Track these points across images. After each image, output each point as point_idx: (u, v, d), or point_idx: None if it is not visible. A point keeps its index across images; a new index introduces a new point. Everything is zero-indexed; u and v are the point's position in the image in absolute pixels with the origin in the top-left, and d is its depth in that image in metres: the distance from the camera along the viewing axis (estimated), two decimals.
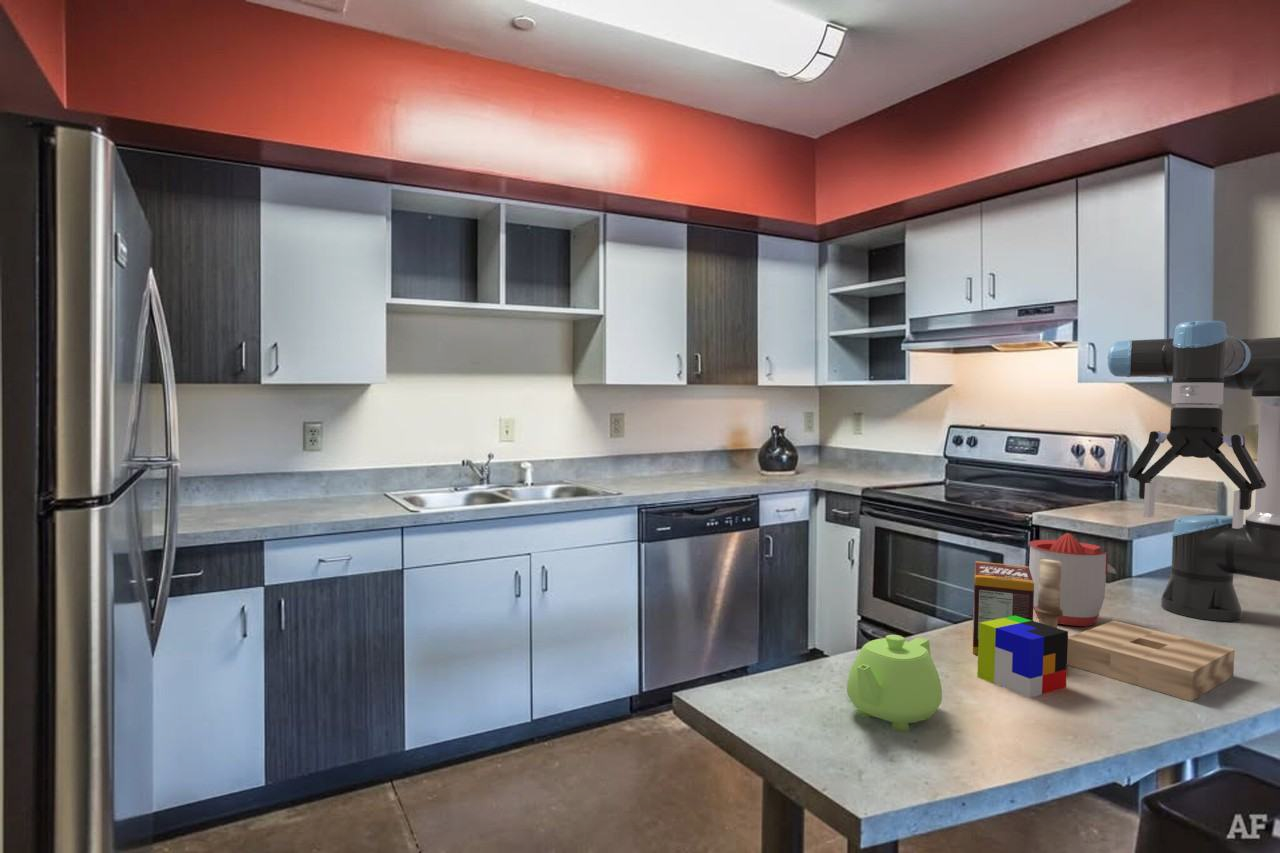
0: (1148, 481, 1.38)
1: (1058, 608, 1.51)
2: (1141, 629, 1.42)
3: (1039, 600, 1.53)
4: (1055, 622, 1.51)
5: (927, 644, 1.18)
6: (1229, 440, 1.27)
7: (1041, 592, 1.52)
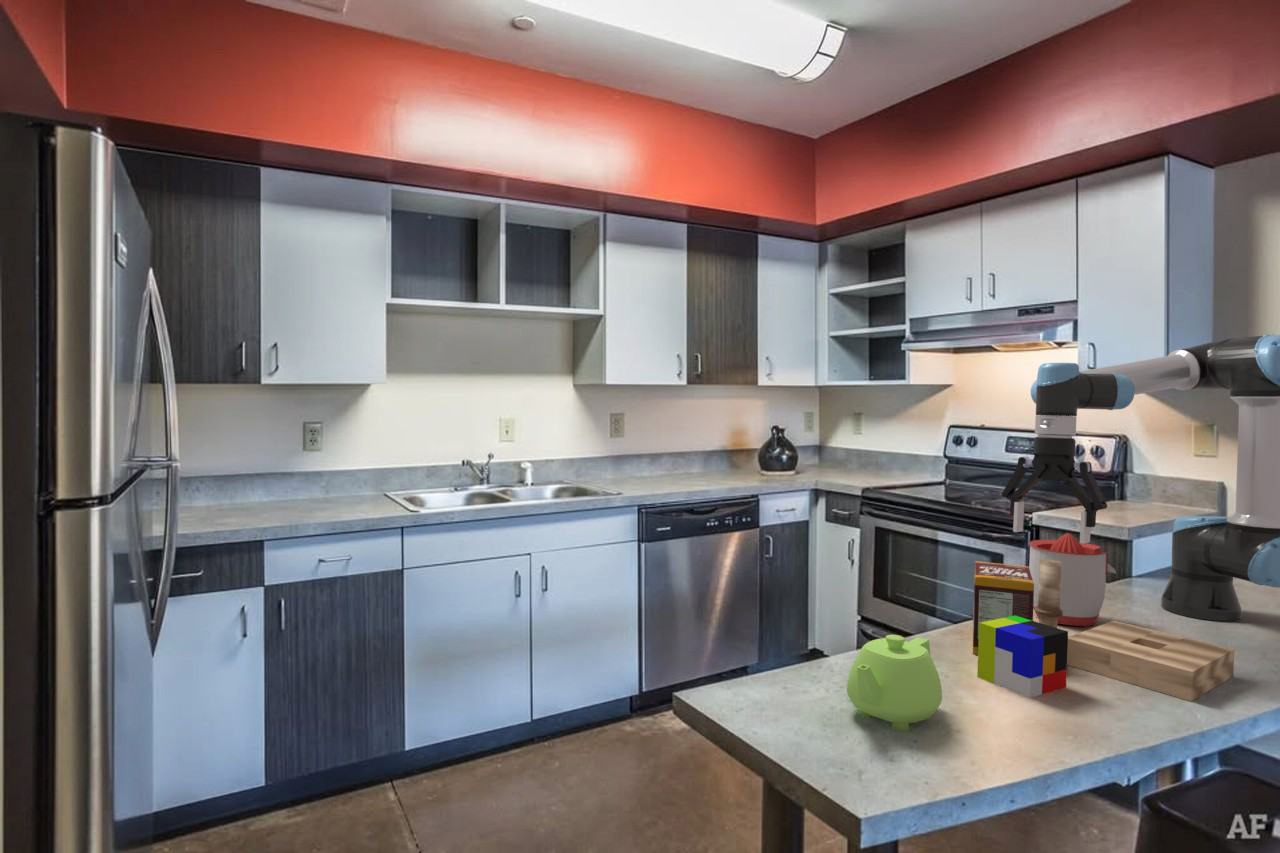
0: (1017, 500, 1.58)
1: (1058, 608, 1.51)
2: (1141, 629, 1.42)
3: (1039, 600, 1.53)
4: (1055, 622, 1.51)
5: (927, 644, 1.18)
6: (1078, 466, 1.47)
7: (1041, 592, 1.52)
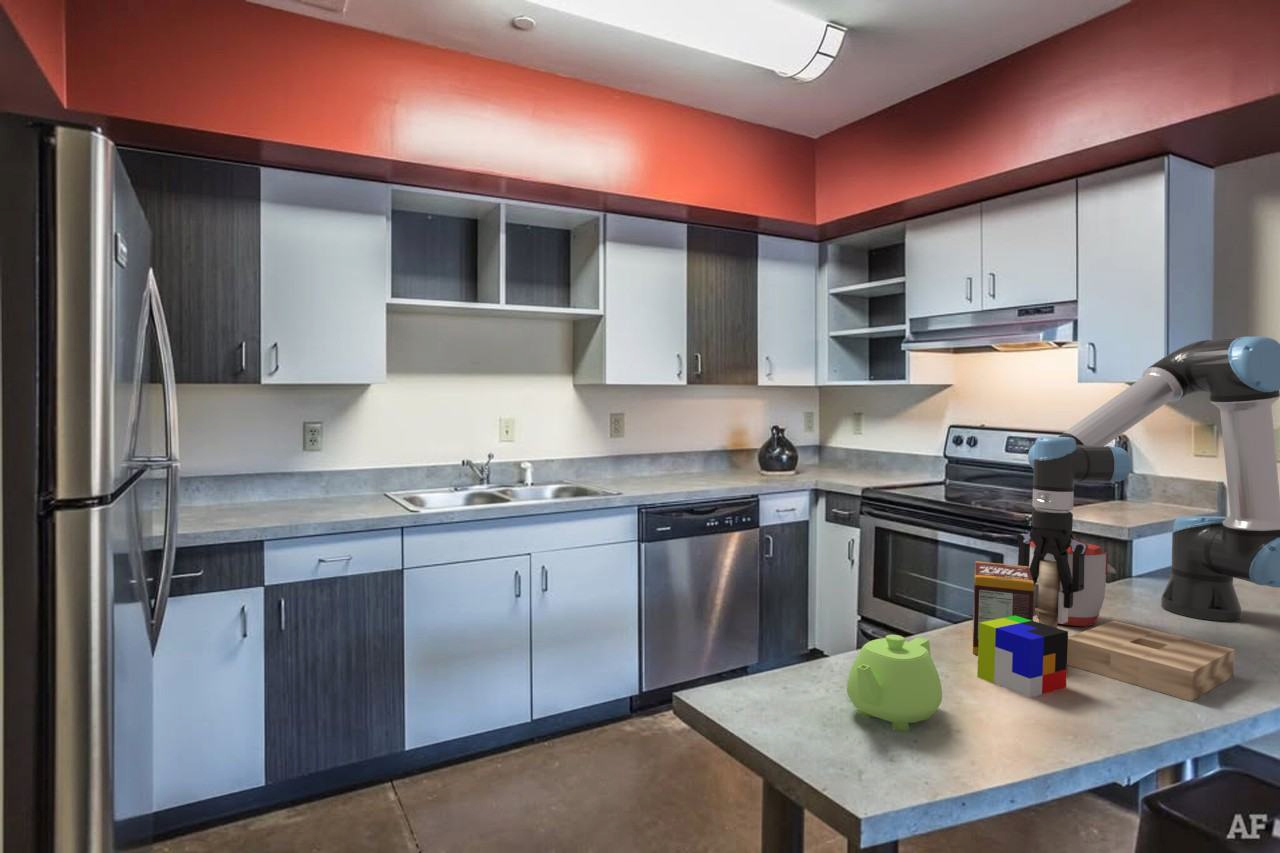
0: None
1: None
2: (1141, 629, 1.42)
3: (1039, 600, 1.53)
4: (1055, 622, 1.51)
5: (927, 644, 1.18)
6: (1074, 546, 1.48)
7: (1041, 592, 1.52)
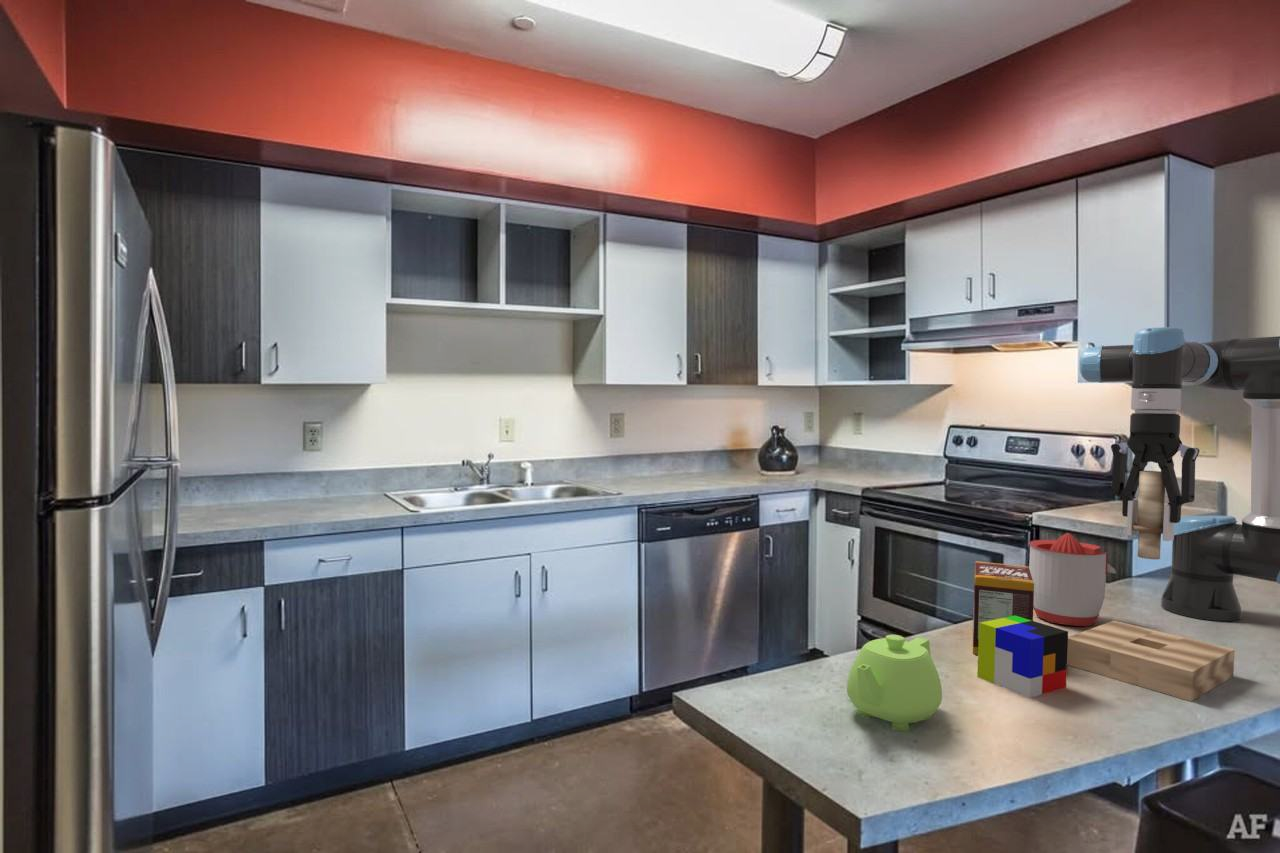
0: (1131, 499, 1.36)
1: (1162, 524, 1.32)
2: (1141, 629, 1.42)
3: (1139, 516, 1.34)
4: (1158, 540, 1.32)
5: (927, 644, 1.18)
6: (1184, 450, 1.29)
7: (1142, 506, 1.33)
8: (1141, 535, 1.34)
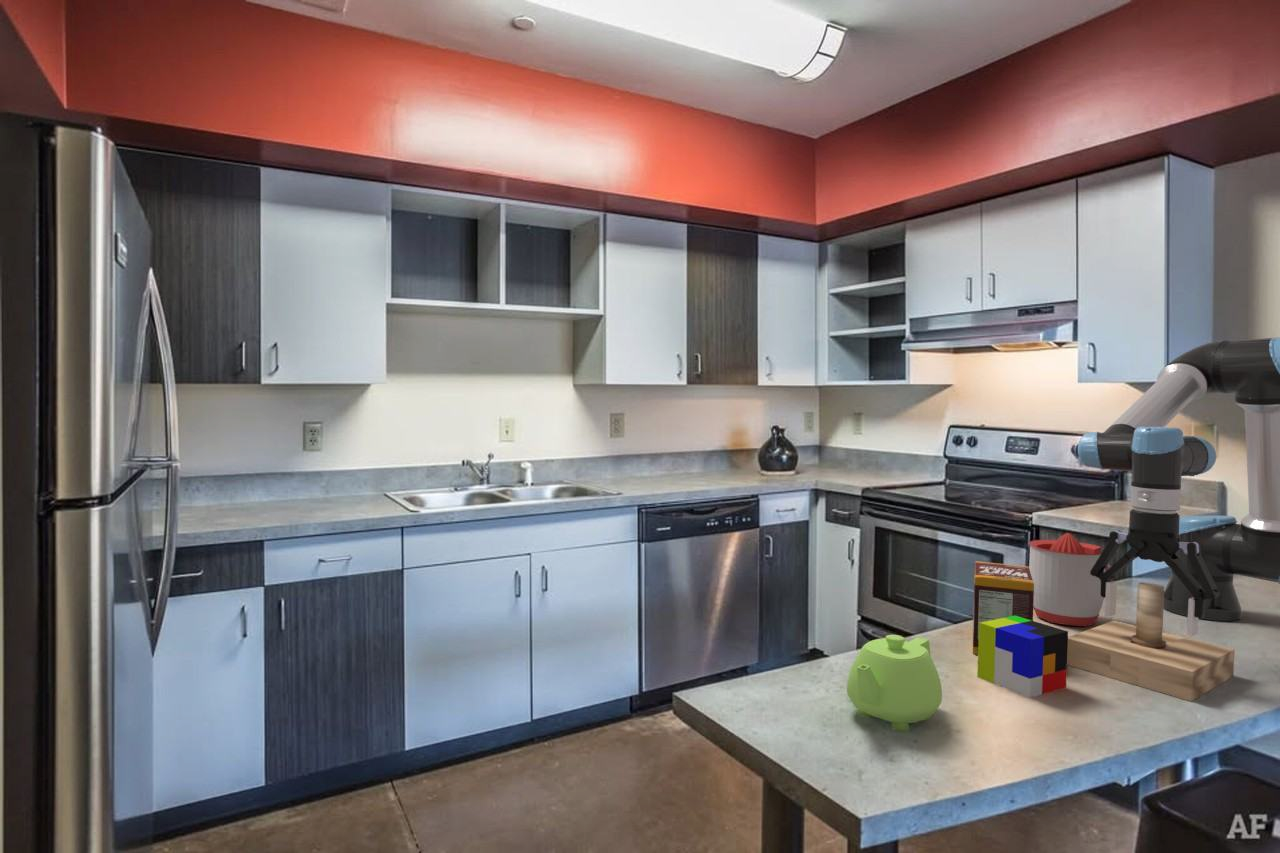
0: (1109, 580, 1.39)
1: (1161, 639, 1.32)
2: None
3: (1138, 629, 1.34)
4: None
5: (927, 644, 1.18)
6: (1185, 547, 1.29)
7: (1141, 620, 1.33)
8: None
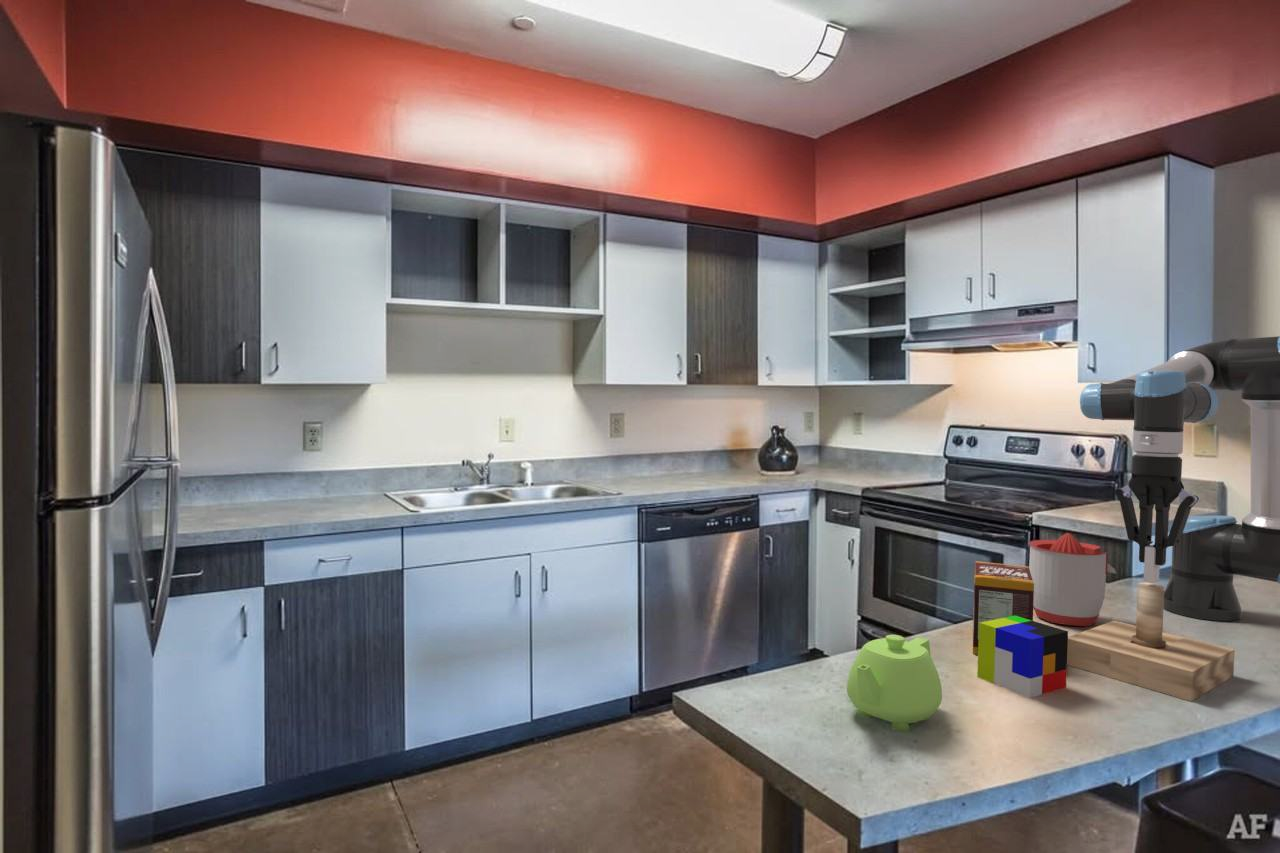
0: (1148, 544, 1.34)
1: (1161, 639, 1.32)
2: None
3: (1138, 629, 1.34)
4: None
5: (927, 644, 1.18)
6: (1183, 496, 1.29)
7: (1141, 620, 1.33)
8: None
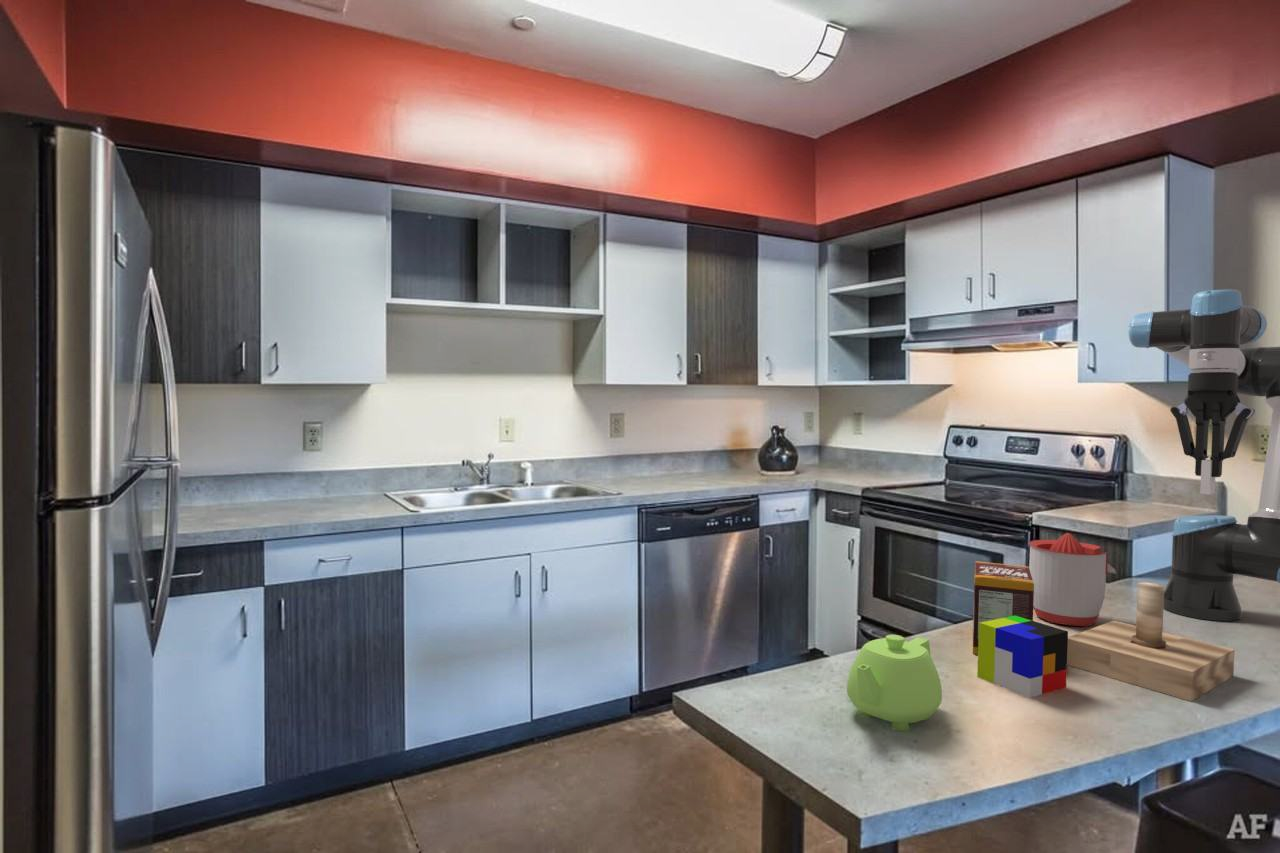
0: (1204, 458, 1.40)
1: (1161, 639, 1.32)
2: None
3: (1138, 629, 1.34)
4: None
5: (927, 644, 1.18)
6: (1240, 409, 1.35)
7: (1141, 620, 1.33)
8: None
